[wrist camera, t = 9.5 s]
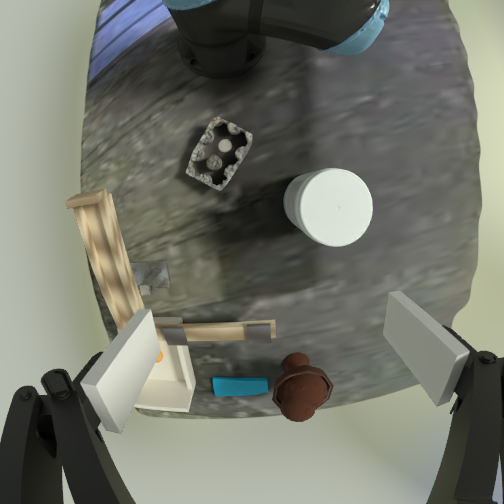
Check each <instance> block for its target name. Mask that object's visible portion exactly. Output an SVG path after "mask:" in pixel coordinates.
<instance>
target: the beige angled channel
mask: <svg viewBox="0 0 504 504" xmlns="http://www.w3.org/2000/svg"><path fill="white" fill-rule="evenodd" d="M65 203H66V206H67V209H68V208H73V209H74V213H75V216H76V220H77V223H78V226H79V230H80V233H81V236H82V239H83V243H84V246H85V249H86V252H87V254H88V257H89V260H90V263H91V266H92V268H93V271H94V274H95V276H96V279H97V281H98V284H99V287H100V289H101V291H102V294H103V296H104V299H105V301H106V303H107V306H108V308H109V310H110V312H111V315H112V317H113V319H114V321H115V323H116V325H117V327H118V329H119V332H120V331H121V330H122V329H123V327H124V326H125V325H126V324H127V323H128V321H129V320H130V319H131V318H132V317H133V315H134V314H135V313H136V312H137V311H138V309H145V307H144V304H143V302H142V299H141V296H140V293H139V290H138V287H137V284H136V281H135V278H134V275H133V272H132V269H131V266H130V263H129V260H128V256H127V253H126V249H125V246H124V242H123V239H122V235H121V232H120V228H119V224H118V220H117V216H116V212H115V208H114V204H113V199H112V195H111V193H108V194H107V192H106V189H101V190H96V191H91V192H86V193H81V194H77V195H75V196H73V197H71V198H70V199H68V200H67V201H66V202H65ZM154 325H155V329H156V333H157V337H158V341H166V342H167V345H175V346H188V341H223V340H247V339H249V344H259V343H271V338H276V324H275V320H264V321H248V322H227V323H196V324H154Z"/></svg>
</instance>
